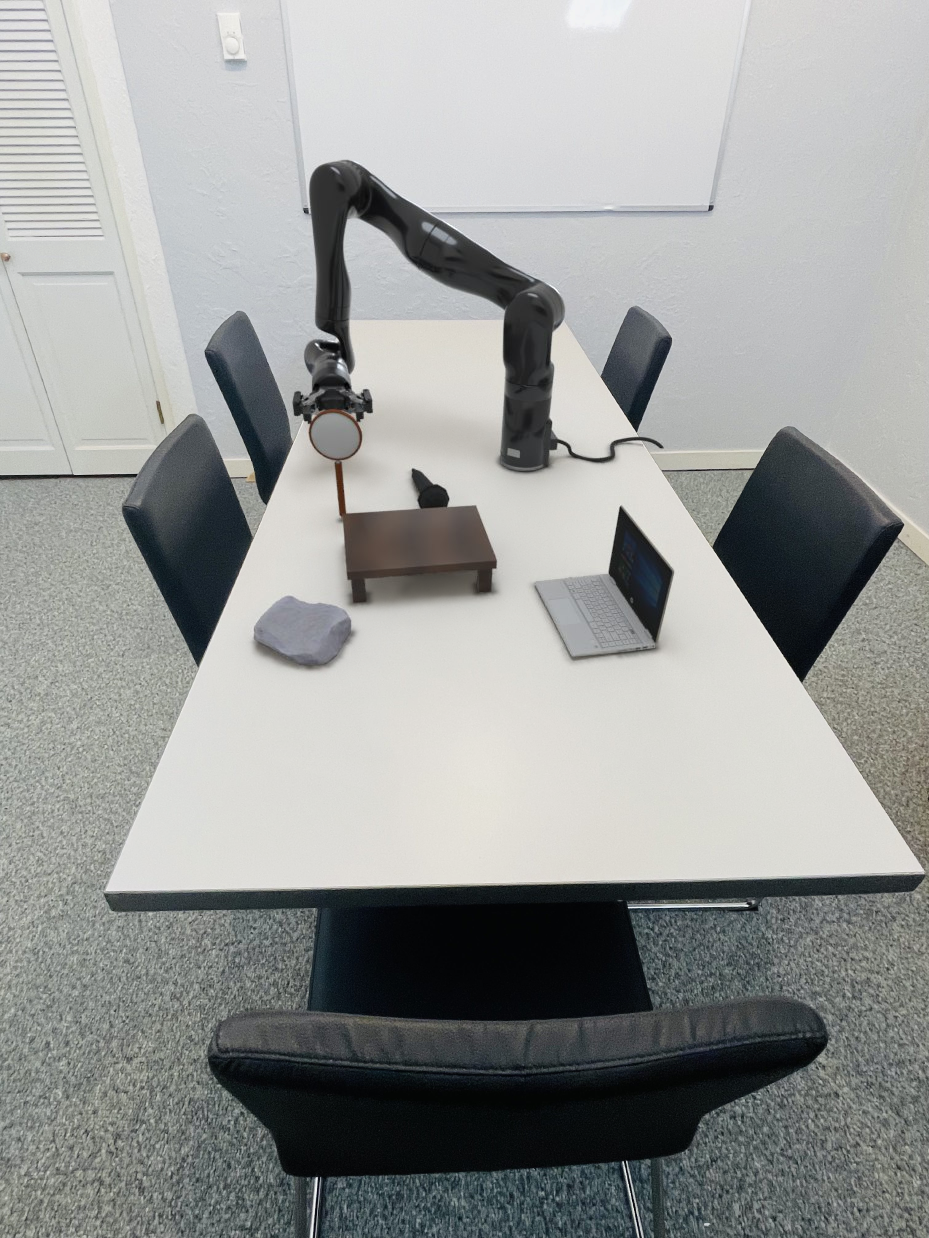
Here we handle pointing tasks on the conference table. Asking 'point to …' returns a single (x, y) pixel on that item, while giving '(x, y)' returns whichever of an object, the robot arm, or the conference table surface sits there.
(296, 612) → the stone block
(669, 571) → the laptop
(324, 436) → the magnifying glass
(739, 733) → the conference table surface
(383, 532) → the walnut table
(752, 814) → the conference table surface
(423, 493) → the microphone
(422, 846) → the conference table surface
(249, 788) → the conference table surface
